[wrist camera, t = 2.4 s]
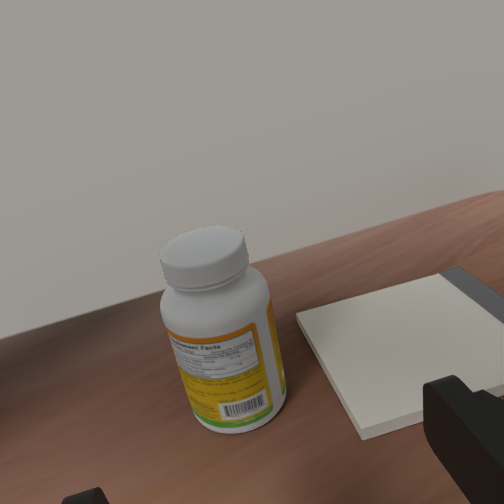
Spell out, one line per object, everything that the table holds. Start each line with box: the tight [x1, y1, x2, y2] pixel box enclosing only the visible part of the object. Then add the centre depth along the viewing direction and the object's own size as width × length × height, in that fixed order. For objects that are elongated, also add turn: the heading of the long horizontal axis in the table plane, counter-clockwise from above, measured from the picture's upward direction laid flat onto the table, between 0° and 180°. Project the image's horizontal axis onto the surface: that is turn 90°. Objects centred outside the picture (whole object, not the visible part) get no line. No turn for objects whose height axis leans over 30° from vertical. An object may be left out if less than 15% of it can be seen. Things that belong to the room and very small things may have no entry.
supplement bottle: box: [160, 226, 286, 434], centre depth 23 cm, size 5×5×10 cm
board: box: [296, 266, 504, 441], centre depth 26 cm, size 12×10×1 cm
